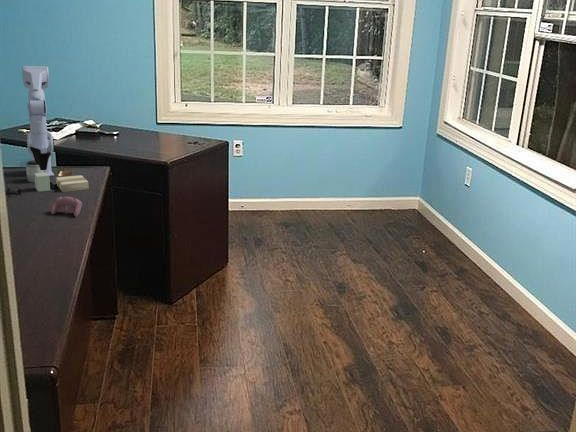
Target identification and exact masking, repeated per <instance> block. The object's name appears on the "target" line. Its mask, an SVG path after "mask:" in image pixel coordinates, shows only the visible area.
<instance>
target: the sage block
mask: <svg viewBox="0 0 576 432" xmlns="http://www.w3.org/2000/svg"><path fill="white" fill-rule="evenodd" d="M34 175H35V183H34V188H35V190H36V191H37V192H44V191H47V192H48V191H51V183H50V176H49V175H48V173H47V172H45V173H34Z"/></svg>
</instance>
